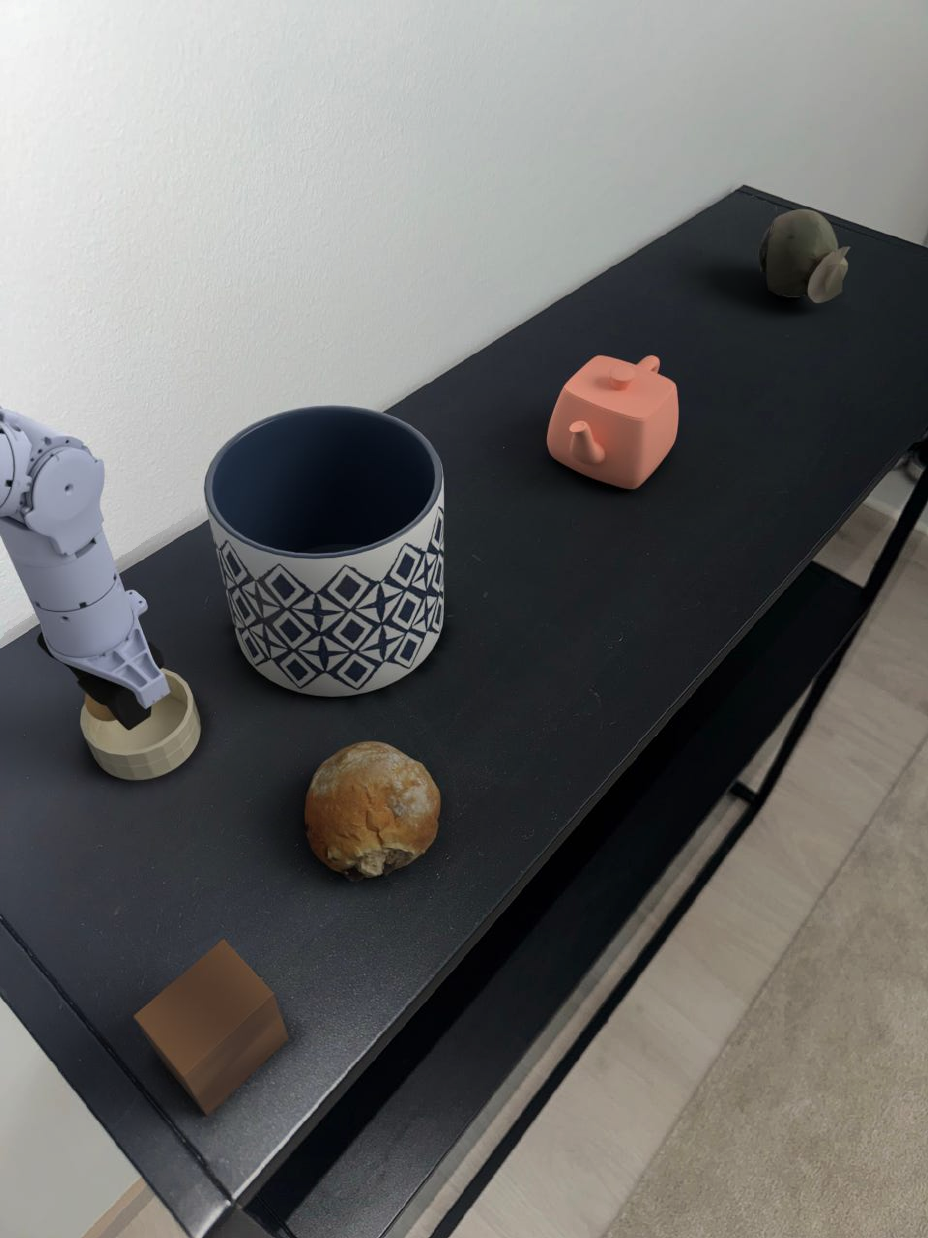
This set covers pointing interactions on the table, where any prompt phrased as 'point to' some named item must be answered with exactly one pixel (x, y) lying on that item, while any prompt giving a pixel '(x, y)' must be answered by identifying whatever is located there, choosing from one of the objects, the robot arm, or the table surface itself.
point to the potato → (98, 710)
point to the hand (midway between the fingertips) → (123, 706)
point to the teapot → (615, 421)
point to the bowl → (147, 736)
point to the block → (214, 1026)
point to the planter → (330, 546)
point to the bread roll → (371, 810)
